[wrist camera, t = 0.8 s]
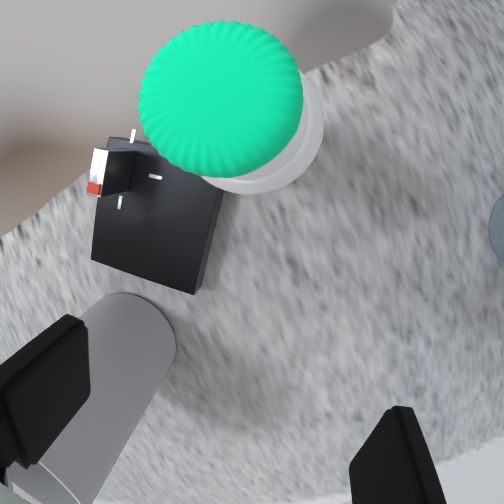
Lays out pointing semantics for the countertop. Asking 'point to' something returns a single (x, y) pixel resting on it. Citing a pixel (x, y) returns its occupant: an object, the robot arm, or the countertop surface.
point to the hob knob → (110, 171)
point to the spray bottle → (497, 228)
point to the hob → (157, 221)
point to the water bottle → (231, 108)
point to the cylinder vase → (104, 400)
